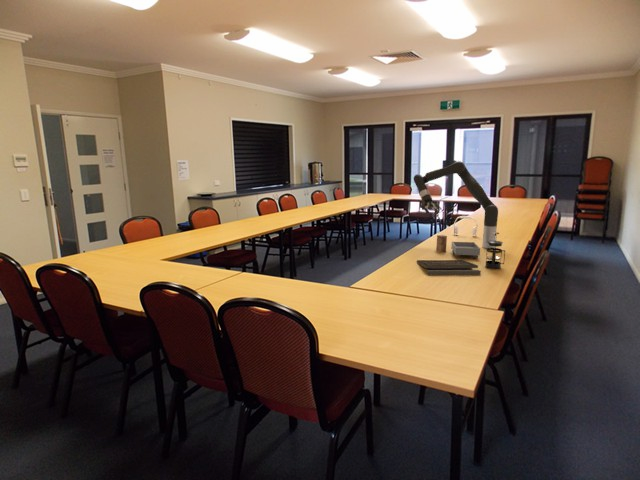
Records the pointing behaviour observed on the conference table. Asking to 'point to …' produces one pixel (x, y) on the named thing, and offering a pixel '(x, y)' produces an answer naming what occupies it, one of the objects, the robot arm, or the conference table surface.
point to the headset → (466, 218)
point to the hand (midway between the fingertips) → (432, 213)
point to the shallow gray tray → (465, 249)
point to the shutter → (449, 265)
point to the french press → (494, 254)
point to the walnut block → (441, 243)
